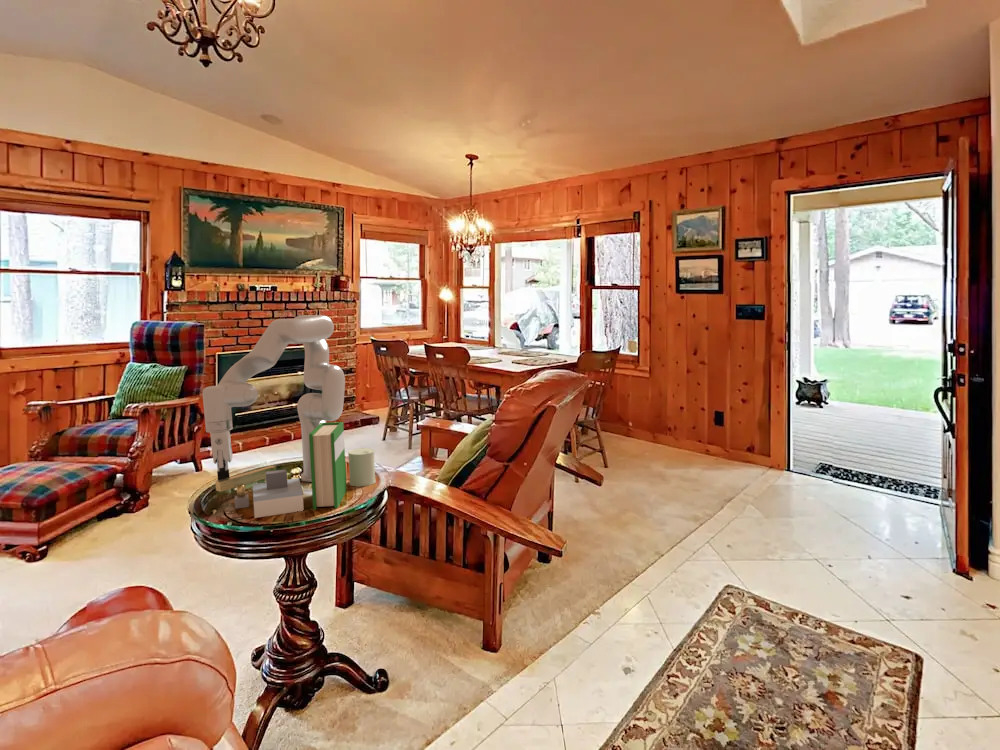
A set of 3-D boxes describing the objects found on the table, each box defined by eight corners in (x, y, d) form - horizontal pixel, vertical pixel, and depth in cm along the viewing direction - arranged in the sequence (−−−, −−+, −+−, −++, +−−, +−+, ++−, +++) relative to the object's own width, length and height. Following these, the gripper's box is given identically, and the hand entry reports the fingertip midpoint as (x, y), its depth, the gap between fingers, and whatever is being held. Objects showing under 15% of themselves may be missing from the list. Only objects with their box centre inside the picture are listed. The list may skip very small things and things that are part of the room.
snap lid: (299, 482, 187) (297, 463, 186) (302, 495, 174) (301, 474, 173) (253, 488, 181) (251, 469, 180) (253, 501, 168) (252, 480, 168)
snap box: (299, 495, 189) (298, 481, 188) (303, 510, 175) (302, 495, 174) (235, 504, 181) (234, 489, 180) (234, 521, 167) (233, 504, 166)
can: (362, 488, 196) (361, 454, 195) (343, 484, 201) (342, 451, 200) (381, 481, 204) (379, 448, 203) (362, 477, 209) (361, 445, 208)
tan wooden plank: (272, 484, 191) (271, 465, 190) (277, 485, 189) (276, 466, 189) (216, 502, 174) (215, 481, 173) (221, 503, 172) (219, 482, 172)
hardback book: (337, 508, 176) (333, 433, 174) (313, 509, 176) (309, 434, 173) (346, 490, 194) (343, 422, 191) (324, 491, 193) (320, 422, 190)
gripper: (231, 429, 170) (236, 487, 172) (233, 420, 183) (238, 474, 186) (203, 431, 167) (208, 491, 169) (207, 422, 181) (212, 477, 183)
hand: (224, 482), depth 177 cm, fingers closed
